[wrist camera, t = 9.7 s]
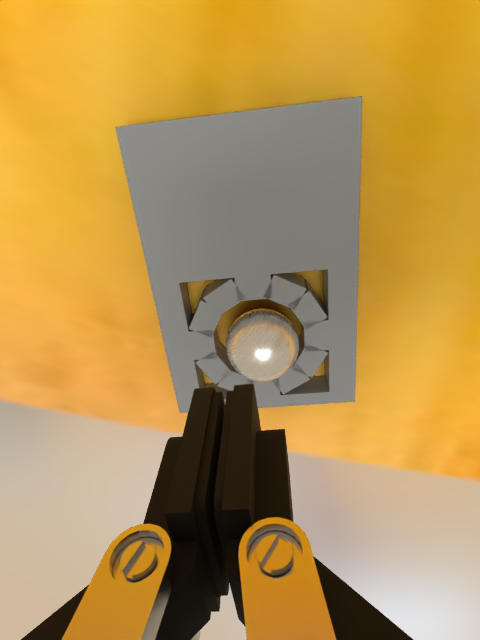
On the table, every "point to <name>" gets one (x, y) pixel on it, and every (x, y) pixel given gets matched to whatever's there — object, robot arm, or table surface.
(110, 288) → the table surface
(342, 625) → the robot arm
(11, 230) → the table surface
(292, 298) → the hole board
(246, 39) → the table surface
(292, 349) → the steel ball
